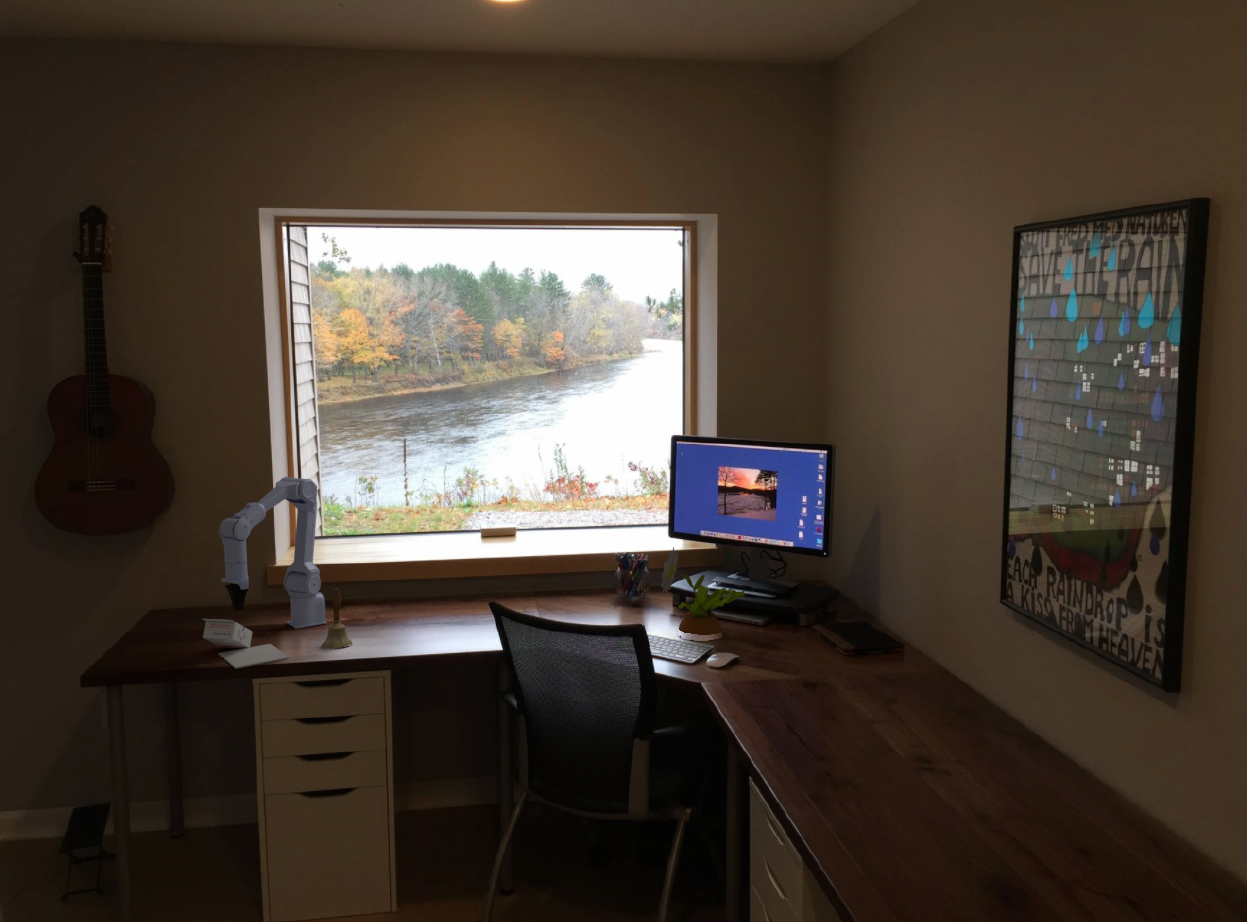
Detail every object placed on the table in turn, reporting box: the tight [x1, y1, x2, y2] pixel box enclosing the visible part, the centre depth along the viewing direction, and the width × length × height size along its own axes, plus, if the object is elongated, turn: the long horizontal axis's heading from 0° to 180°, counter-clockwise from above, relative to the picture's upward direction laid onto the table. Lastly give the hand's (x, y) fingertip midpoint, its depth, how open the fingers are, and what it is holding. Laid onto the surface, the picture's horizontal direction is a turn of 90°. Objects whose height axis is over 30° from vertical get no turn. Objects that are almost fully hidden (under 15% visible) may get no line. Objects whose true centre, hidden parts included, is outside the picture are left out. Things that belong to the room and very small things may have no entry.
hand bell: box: [321, 588, 353, 650], centre depth 292 cm, size 8×8×16 cm
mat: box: [218, 643, 290, 670], centre depth 283 cm, size 14×15×1 cm
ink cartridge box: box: [201, 618, 253, 649], centre depth 285 cm, size 9×5×15 cm
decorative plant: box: [660, 547, 746, 635], centre depth 298 cm, size 27×24×25 cm
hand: (238, 609), depth 291 cm, fingers closed
